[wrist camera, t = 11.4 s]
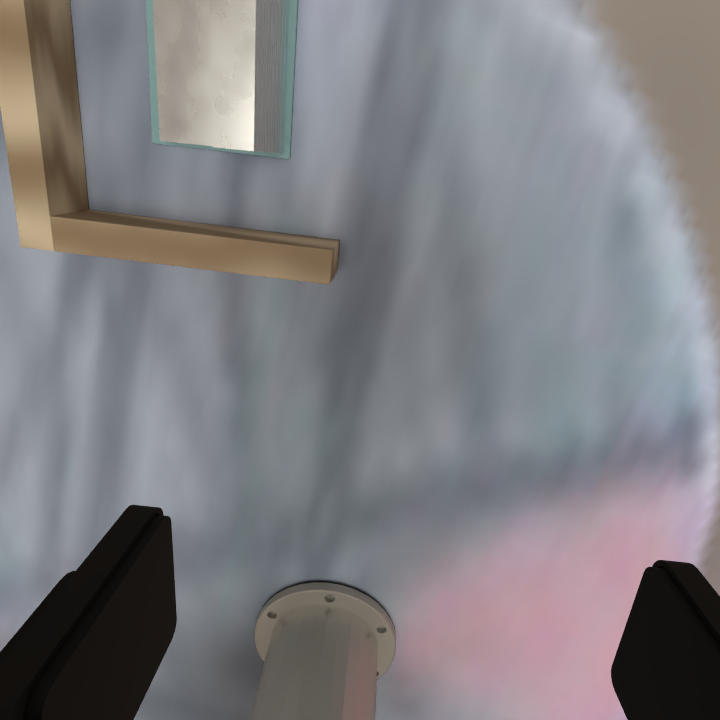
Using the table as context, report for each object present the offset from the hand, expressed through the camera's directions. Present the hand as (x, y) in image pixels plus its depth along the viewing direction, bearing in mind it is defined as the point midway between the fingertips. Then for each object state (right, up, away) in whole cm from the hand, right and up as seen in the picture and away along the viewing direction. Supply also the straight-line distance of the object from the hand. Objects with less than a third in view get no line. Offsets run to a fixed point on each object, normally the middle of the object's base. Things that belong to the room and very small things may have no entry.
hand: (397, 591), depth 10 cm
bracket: (-9, +21, +19) cm, 30 cm away
